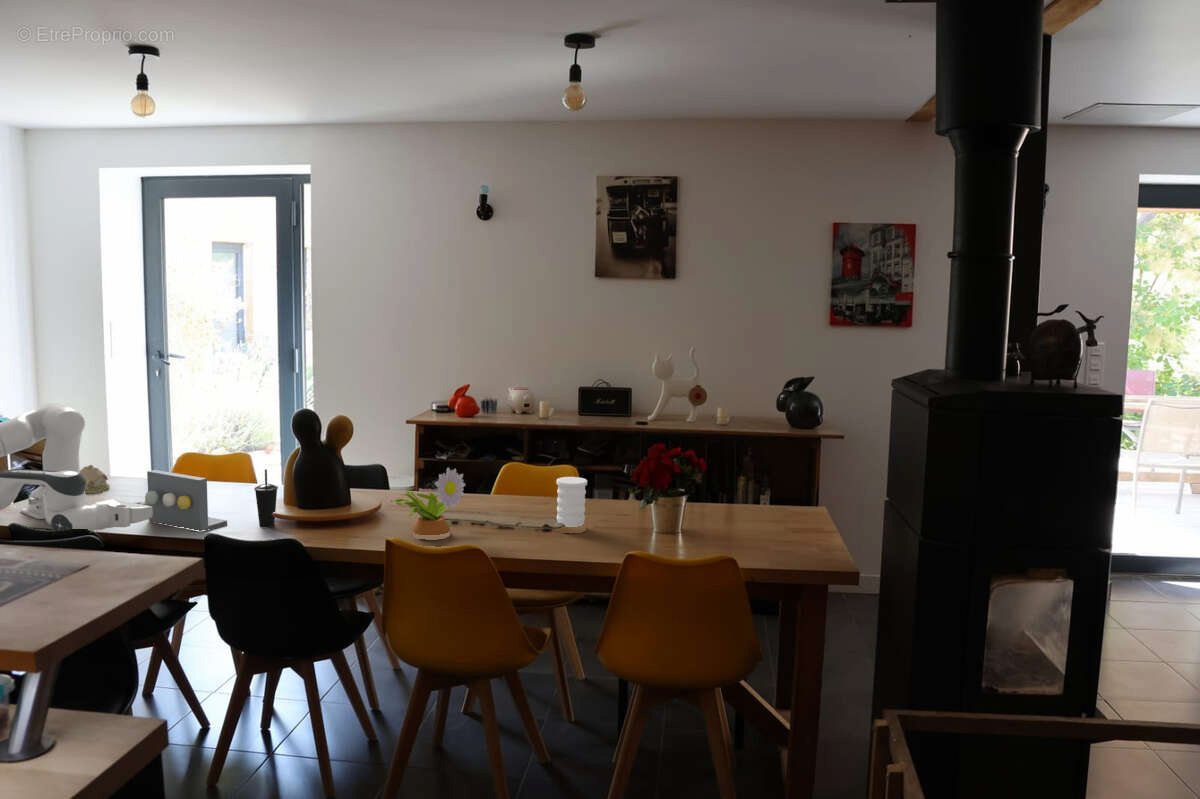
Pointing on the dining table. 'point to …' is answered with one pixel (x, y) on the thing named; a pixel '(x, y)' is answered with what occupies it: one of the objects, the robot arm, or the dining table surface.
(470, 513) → the dining table surface
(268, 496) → the drinking cup
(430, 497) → the decorative plant
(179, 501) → the button mustard
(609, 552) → the dining table surface
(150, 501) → the button sage
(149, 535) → the dining table surface
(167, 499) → the button cream
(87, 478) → the ceramic model
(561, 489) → the decorative container
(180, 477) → the button panel
